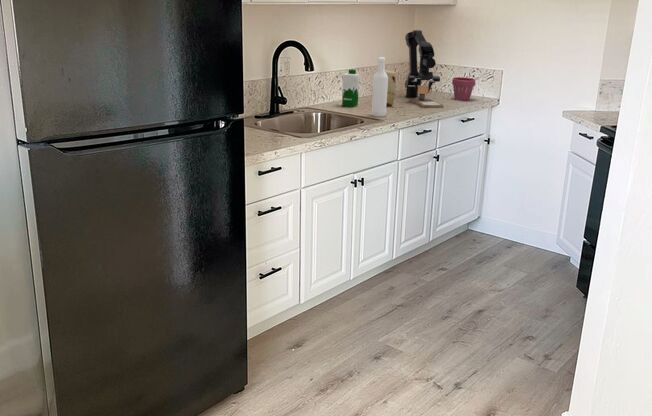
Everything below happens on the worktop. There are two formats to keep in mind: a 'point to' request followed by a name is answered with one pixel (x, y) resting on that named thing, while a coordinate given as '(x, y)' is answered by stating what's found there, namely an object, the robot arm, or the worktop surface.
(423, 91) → the orange tan square block
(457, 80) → the plant pot
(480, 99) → the worktop surface
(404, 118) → the worktop surface
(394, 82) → the food model
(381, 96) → the bottle
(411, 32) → the robot arm
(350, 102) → the milk carton
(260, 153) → the worktop surface
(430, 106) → the post board
